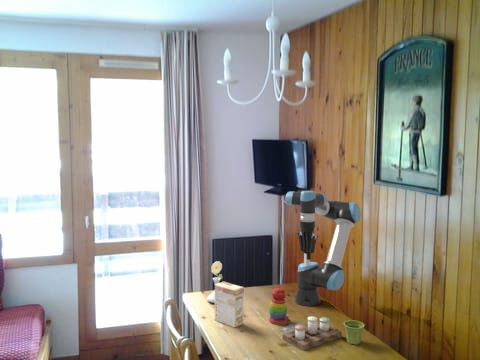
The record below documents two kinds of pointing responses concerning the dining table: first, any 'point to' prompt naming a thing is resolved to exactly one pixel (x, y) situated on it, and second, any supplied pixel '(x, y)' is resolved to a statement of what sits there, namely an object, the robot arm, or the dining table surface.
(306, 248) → the robot arm
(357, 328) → the plant pot
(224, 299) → the coffeecake box
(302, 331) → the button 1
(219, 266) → the flower in vase
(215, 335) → the dining table surface
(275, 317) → the stacking bear
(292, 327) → the card
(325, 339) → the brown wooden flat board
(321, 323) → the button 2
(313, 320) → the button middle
